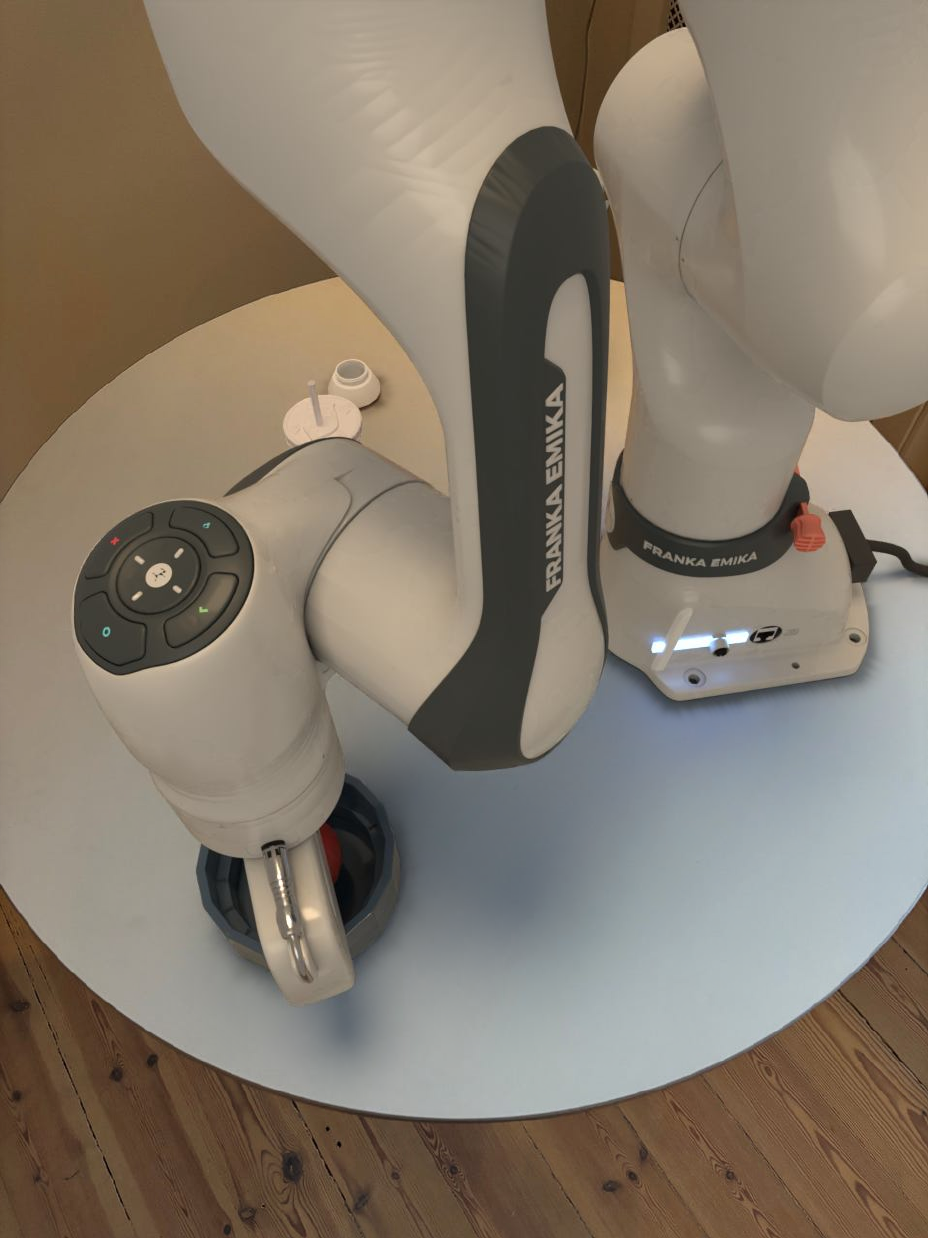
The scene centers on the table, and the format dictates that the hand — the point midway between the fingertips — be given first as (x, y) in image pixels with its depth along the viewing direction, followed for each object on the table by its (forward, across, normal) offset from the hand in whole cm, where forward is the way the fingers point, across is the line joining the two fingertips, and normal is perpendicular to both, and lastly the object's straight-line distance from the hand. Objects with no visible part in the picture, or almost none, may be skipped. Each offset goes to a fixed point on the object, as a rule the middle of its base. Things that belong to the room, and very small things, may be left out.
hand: (301, 858), depth 58 cm
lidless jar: (+5, +46, -14) cm, 48 cm away
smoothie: (+5, +33, -10) cm, 34 cm away
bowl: (+5, 0, 0) cm, 5 cm away
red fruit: (+4, 0, 0) cm, 4 cm away
